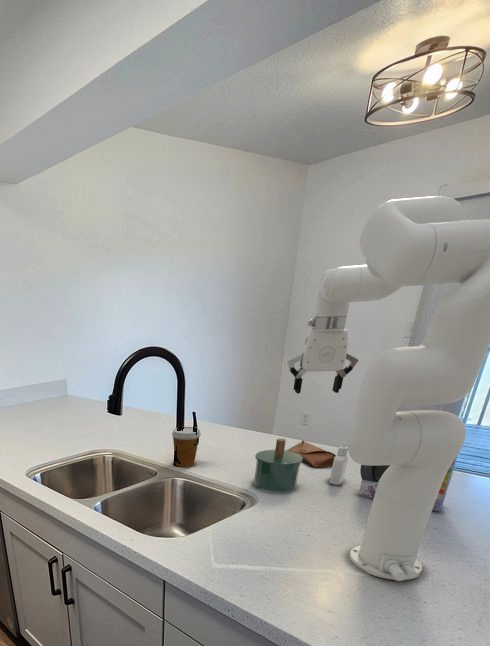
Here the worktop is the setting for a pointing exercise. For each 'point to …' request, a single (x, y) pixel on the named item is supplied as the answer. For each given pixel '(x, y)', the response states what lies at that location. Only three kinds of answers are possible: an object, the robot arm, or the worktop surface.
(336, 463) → the eye dropper bottle
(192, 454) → the disposable coffee cup
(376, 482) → the cake pan box
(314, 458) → the sunglasses case
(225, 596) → the worktop surface
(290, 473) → the canister
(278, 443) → the lid
